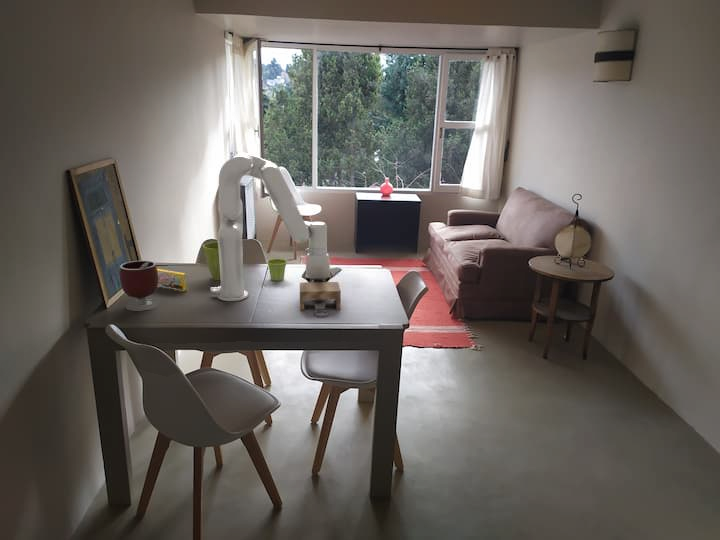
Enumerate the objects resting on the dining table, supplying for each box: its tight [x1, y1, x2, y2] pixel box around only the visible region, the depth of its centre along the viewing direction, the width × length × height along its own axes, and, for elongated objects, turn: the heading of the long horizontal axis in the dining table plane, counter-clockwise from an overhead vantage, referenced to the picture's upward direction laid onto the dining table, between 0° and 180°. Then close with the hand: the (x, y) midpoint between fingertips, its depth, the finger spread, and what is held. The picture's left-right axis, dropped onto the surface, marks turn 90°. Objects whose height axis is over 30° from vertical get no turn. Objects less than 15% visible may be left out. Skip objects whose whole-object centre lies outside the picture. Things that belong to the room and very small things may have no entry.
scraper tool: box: [313, 278, 326, 310], centre depth 225 cm, size 4×21×7 cm, turn 7°
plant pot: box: [266, 258, 288, 282], centre depth 252 cm, size 9×9×9 cm
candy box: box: [157, 268, 187, 290], centre depth 235 cm, size 16×2×8 cm, turn 68°
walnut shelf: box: [299, 281, 342, 312], centre depth 219 cm, size 16×12×8 cm
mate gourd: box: [119, 260, 158, 307], centre depth 212 cm, size 16×14×20 cm
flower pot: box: [202, 241, 221, 281], centre depth 251 cm, size 15×15×16 cm
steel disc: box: [314, 309, 329, 318], centre depth 210 cm, size 5×5×2 cm
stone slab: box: [309, 267, 342, 279], centre depth 263 cm, size 22×3×10 cm
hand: (317, 291), depth 234 cm, fingers closed on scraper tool, 4 cm apart
